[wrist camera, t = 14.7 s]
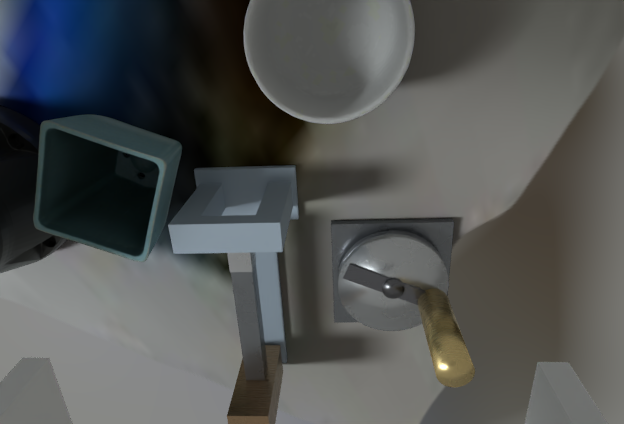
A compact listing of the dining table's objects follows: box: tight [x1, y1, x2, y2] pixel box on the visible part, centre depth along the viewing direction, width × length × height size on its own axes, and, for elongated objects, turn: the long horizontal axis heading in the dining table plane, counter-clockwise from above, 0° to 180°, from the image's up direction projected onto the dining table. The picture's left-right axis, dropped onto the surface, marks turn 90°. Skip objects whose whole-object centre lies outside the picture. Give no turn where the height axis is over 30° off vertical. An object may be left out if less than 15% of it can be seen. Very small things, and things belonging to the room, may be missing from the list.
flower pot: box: [33, 114, 182, 262], centre depth 36 cm, size 9×9×9 cm
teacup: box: [243, 0, 415, 124], centre depth 31 cm, size 14×11×8 cm
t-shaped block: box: [168, 165, 299, 363], centre depth 41 cm, size 22×9×9 cm, turn 3°
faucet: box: [338, 230, 475, 387], centre depth 38 cm, size 10×10×11 cm
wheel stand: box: [331, 218, 454, 322], centre depth 43 cm, size 11×11×1 cm
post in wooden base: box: [227, 252, 283, 424], centre depth 41 cm, size 18×4×9 cm, turn 3°
